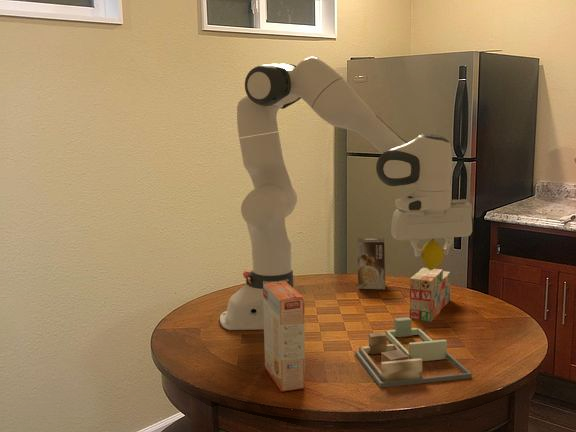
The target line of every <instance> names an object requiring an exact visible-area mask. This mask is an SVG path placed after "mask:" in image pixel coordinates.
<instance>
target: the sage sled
mask: <svg viewBox="0 0 576 432" xmlns="http://www.w3.org/2000/svg"><path fill="white" fill-rule="evenodd" d="M412 321H413V319H410V316H409V317H407V316H406V317H394V321H393V322H394V323H393V324H394V326H393V327H394V328H393V329H389V330H385V334H386V335H387V340H388V341H390V344H395V345H396V346H397V347H398V348H399V349H400V350H401V351H402V352H403V353H404V354H405V355H407V356H408V358H409V359H418V358H421V359H422V362H427V361H429V362H430V361H436V360H448V358H447V352H448V351H447V350H448V340H447V339H436V340H435V339H432V338H431V337H430V336H428V335H427V334H426V333H425V332H424V331H423V330H422V329H421V328H420V327H412V326H413V325H412V323H413V322H412ZM412 336H419V337H420V339H422V341H415V342H408V350H407V349H406V348H405V347H404V345H402V343H401V342H399V340H398V339H396V338H403V337H412Z"/></svg>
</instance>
